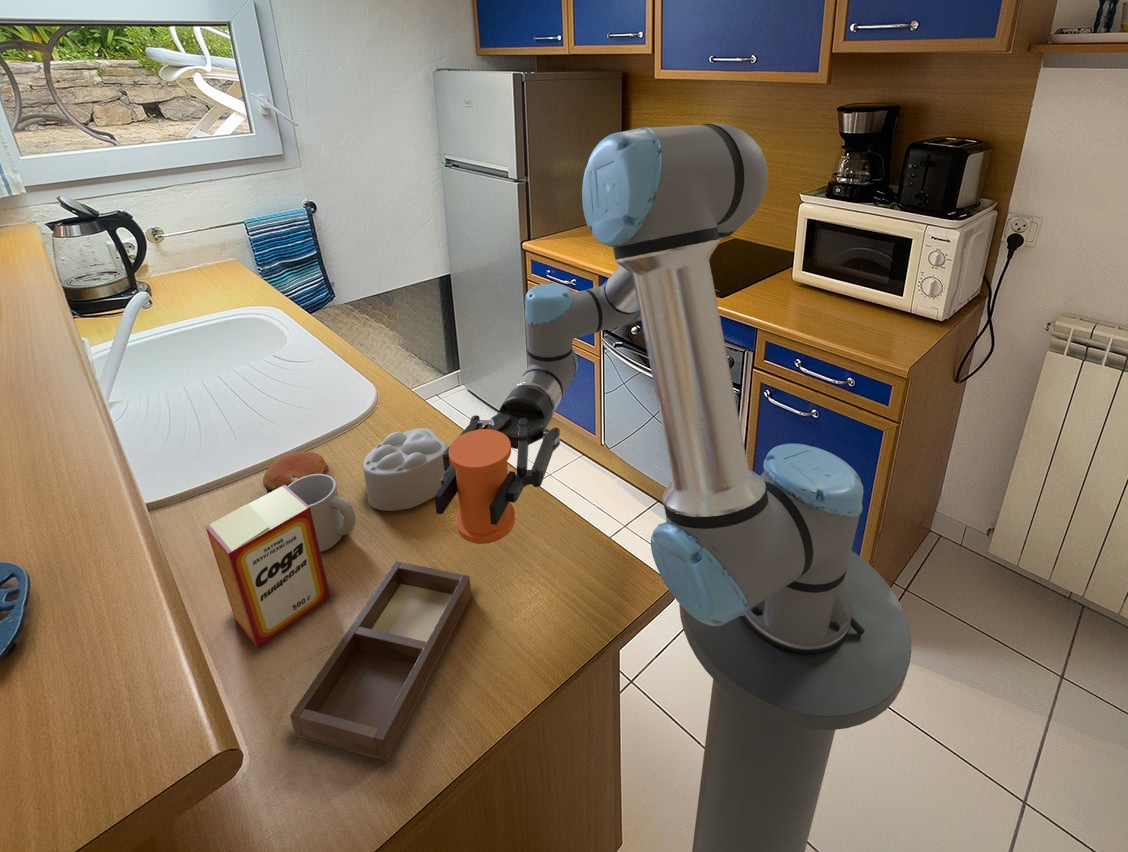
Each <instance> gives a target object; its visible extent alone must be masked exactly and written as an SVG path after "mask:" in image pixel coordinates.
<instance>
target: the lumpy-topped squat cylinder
mask: <svg viewBox="0 0 1128 852" xmlns="http://www.w3.org/2000/svg"><path fill="white" fill-rule="evenodd" d="M447 448H448V445H447V443H446V442H445V441H444V440H442V439H441V438H439V437H437V434H436V433H435V431H433V430H432V429H431V428H427V427H418V428H417V427H416V428H413V429H410V430H406V431H404V432H402V431H395V432H391V433H390V434H388V435H387V436H386V437H385V438H384V440H383V441H382V442H379V443H378V444H377V445H376V446H375V447H374V448H372V450H370V452H369V453H368V454H367V455H366V456H365V458H364V460H363V463H362V470H363V475H364V482H365V488H366V495H367V499H368V504H369V505H370V506H371V507H372V508H373V509H376V510H380V511H384V512H385V511H386V512H392V511H402V510H408V509H411V508H414V507H417V506H419V505H421V504H424V503H425V502H428V501H431V499H434V498H435V497H434V496H435V495H436V493H437V492H438V490H439V489H440V488H441V486H442V485H441V478H442V476H443V475H444V474H445V472H446V471H445V470H444V465H443V456H442V454H443V453H444V451H445V450H446V449H447Z"/></svg>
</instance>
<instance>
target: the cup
mask: <svg viewBox="0 0 1128 852" xmlns="http://www.w3.org/2000/svg"><path fill="white" fill-rule="evenodd" d="M287 487H288V488H289V489H290V490H291V491H293V492H294V493H295V494H296V495H297V496H298V497H299V498H300V499H302V500H303V501H304V502H305V503H306V504H307V505H308V506H309V507H310V510H311V514H312V518H313V523H314V527H315V532H316V536H317V540H318V545H319V549H320V553H322V552H325V551H327V550H329V549H331V548H333V546H335V545H336V544H337V543H338V542H339V541H340V540H341V538H342V536H345V535H348V534H350V532H352V531H353V530H354V528H355V526H356V521H357V520H356V519H357V516H356V512H355V511H356V510H355V509H354V507H353V505H352V504H351V502H349V501H348V500H347V499H346V498H344V497H342V496H339V494H338V488H337V484H336V479H334V477H332V476H330V475H329V474H328V475H325V474H313V475H308V476H305V477H302V478H300V479H298V480H296V481H294V482H292V483H291V484H290V485H289V486H287Z"/></svg>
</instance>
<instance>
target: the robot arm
mask: <svg viewBox="0 0 1128 852" xmlns="http://www.w3.org/2000/svg"><path fill="white" fill-rule="evenodd" d="M768 170H769V169H768V164H767V160H766V157H765V155H764V152H763V151H762V149H761V147H760V145H759V144H758V143H757V142H756V141H755V139H754V138H753V137H751V136H750V135H749V134H748V133H747V132H745V131H744V130H742V129H740V128H738V127H735V126H733V125H729V124H726V123H719V122H718V123H717V122H715V123H714V122H712V123H703V124H695V125H694V124H693V125H675V126H674V125H672V126H654V127H653V126H652V127H647V126H640V127H638V128H635V129H629V130H624V131H619V132H618V131H617V132H614V133H610V134H608V135H607V136H606V137H604V138H603V139H601V140H600V141H599V142H598V143H597V145H596V146H595V147H594V148H593V150H592V152H591V154H590V155H589V158H588V161H587V165H586V167H585V169H584V174H583V179H582V188H581V189H582V190H581V194H582V195H581V197H582V198H581V200H582V210H583V215H584V219H585V224H586V225H587V227H588V229H589V230H591V234H592V237H593V238H594V239H595V240H596V241H597V242H598V243H600V244H601V245H604V246H608V247H611V248H612V250H613V254H614V260H615V263H616V264H617V265H618V267H617V268H616V269H615V270H614V272H613V273H612V274H611V275H610V276H609V278H608V279H607V280H606V281H605V282H604V283H602V285H600V286H596V287H592V288H587V289H583V290H580V291H574V292H572V291H571V289H570V287H568V286H566V285H565V284H562V283H555V282H552V283H539V284H537V285H534V286H532V287H531V288H530V289H529V290H528V291H527V292H526V295H525V300H524V301H525V302H524V323H525V333H526V334H525V335H526V361H527V362H526V363H527V367H526V369H525V371H524V373H523V374H522V376H521V377H520V378H519V380H518V381H517V383H516V384H515V385H514V387H513V388H512V389H511V391H510V392H509V394H508V395H507V397H506V398H505V400H504V401H503V403H502V404H501V405H500V408H499V411H498V412H497V413H496V414H495V415H493V416H492V417H490V419H481V417H480V415H477V414H476V415H472V416H471V417H470V420H469V424H468V425H467V426H466V427H465V429H463V431H462V432H460V434H459V435H457V437H456V438H458V437H459V436H461V435H463V434H465V433H467V432H470V431H474V430H480V429H490V430H496V431H499V432H501V433H503V434H505V435H506V436H507V437H508V438H509V440H510V442H511V449H515V450H517V457H516V458H517V459H516V471H514V470H513V471H512V470H509V471H508V475H507V477H506V479H505V480H504V482H503V484H502V485H501V487H500V489H499V491H498V492H497V494H496V496H495V498H494V499H493V501H492V503H491V504H490V506H489V507H490V520H491V524H494V525H497V524H498V522H499V520H500V518H501V516H502V514H503V512H504V511H505V509H506V507H507V505H508V503H509V502H510V503H512V504H513V503H514V504H515V503H516V502H517V501H518V500H519V497H520V496H521V494H522V492H523V491H524V488H526V487H527V486H530V485H531V486H532V487H534V488H539V487H541V486H542V485H543V481H544V478H545V476H546V473H547V469H548V467H549V465H550V461H551V459H552V456H553V453H554V452H555V450H556V449H557V448H559V446H560V445H561V431H560V428H559V427H552V428H551V429H548V425H549V423H550V422H551V420H552V417H553V416H554V414H555V413H556V410H557V409H558V407H559V405H560V404H561V401H562V400H563V397H564V396H565V394H566V392H567V390H568V389H569V387H570V386H571V385H572V383H573V382H574V379H575V378H576V375H577V371H578V368H579V359H578V358H579V357H578V355H577V354H576V352H575V349H573V340H574V339H578V338H582V337H585V336H588V335H591V334H597V333H600V332H603V331H607V330H611V329H615V328H619V327H623V326H629V325H632V324H635V323H636V322H638V321H641V326H642V332H643V336H644V341H645V346H646V353H647V358H648V361H649V366H650V373H651V377H652V382H653V388H654V394H655V397H656V402H657V403H656V404H657V408H658V413H659V419H660V421H661V422H660V424H661V429H662V433H663V438H664V444H665V448H666V454H667V459H668V464H669V469H670V474H671V479H672V480H671V482H670V483H669V484H668V485H667V487H666V489H665V490H664V491H663V494H662V502H663V503H662V504H663V508H664V513H665V519H666V521H665V522H662V523H658V525H657V527H655V528H654V529H653V531H652V534H651V536H650V550H651V555H652V557H653V561H654V564H655V567H656V568H657V569H656V570H657V571H658V573H659V575H660V577H661V580H662V581H663V583H664V585H665V586H666V587H667V589H668V591H669V592H670V593H671V595H672V596H673V598H674V599H675V600H676V602H677V603H678V605H679V604H680V605H681V606H682V607H683V608H684V609H685V610H686V611H687V612H688V613H689V614H690V615H691V616H693V617H694V618H695V619H697V620H698V621H700V622H702V623H704V624H707V625H710V626H720V625H724V624H726V623H728V622H729V621H731V620H733V619H735V618H737V617H739V616H741V618H742V619H743V621H744V622H745V624H746V625H747V626H748V627H749V628H750V629H751V630H752V631H753V632H754V633H755V634H756V635H757V636H758V637H760V638H761V639H762V640H764V641H765V642H767V643H768V644H770V645H772V646H774V647H776V648H778V649H781V650H783V651H786V652H790V653H794V654H799V655H818V654H823V653H826V652H829V651H831V650H833V649H835V648H836V647H838V646H839V645H840V644H841V643H842V642H843V641H844V640H845V638H846V637H847V635H848V632H849V629H850V626H851V627H852V628H853V629H854V630H855V631H856V632H857V633H858V634H859V635H862V634H863V633H864V629H863V628H862V627H861V626H860V625H859V624H858V623H857V622H856V621H855V619H854V618H853V617H852V616H853V608H852V600H851V595H850V590H849V585H848V580H847V576H846V571H847V567H848V563H849V559H850V555H851V550H852V551H853V546H854V541H855V538H856V533H857V530H858V529H857V528H858V524H859V521H860V516H861V514H862V512H863V509H864V508H863V497H864V486H863V483H862V480H861V478H860V476H859V474H858V473H857V471H855V469H854V468H853V467H852V466H851V465H849V464H848V462H846V461H845V460H843V459H842V458H841V457H839V456H837V455H835V454H833V453H832V452H830V451H827V450H825V449H822V448H819V447H816V446H811V445H807V444H803V443H784V444H780V445H776V446H775V447H773V448H771V449H770V450H769V451H768V452H767V455H766V457H765V459H764V460H763V464H762V466H763V472H762V473H761V474H760V475H759V474H757V473H756V472H755V471H753V470H752V469H750V467H749V464H748V458H747V453H746V449H745V448H746V447H745V443H744V438H743V432H742V426H741V422H740V417H739V411H738V406H737V400H736V396H735V390H734V385H733V379H732V374H731V369H730V363H729V358H728V352H727V347H726V342H725V338H724V332H723V326H722V321H721V316H720V311H719V306H718V300H717V295H716V289H715V283H714V279H713V274H712V268H711V263H710V259H711V257H712V255H713V254H714V252H715V250H716V249H717V247H718V246H719V244H721V243H720V242H721V240H723V239H726V238H729V237H730V236H732V235H734V234H735V232H737V230H738V229H740V228H741V227H742V226H743V225H744V224H745V223H746V222H747V221H748V220H749V219H750V218H751V217H752V216H753V215H754V214H755V212H756V211H757V210H758V208H759V207H760V205H761V204H762V203H763V200H764V197H765V195H766V192H767V191H768V190H767V188H768V182H769V171H768ZM540 440H542V441H541V444H540V447H539V449H538V451H537V453H536V456H535V459H534V463H533V465H532V467H531V469H528V462H529V461H528V459H529V446H530V445H532V444H534V443H537V442H538V441H540ZM449 448H450V445H449V446H447V449H446V450H445V451H444V453H443V454H442V456H443V465H444V470H445V471H446V472H445V474H444V475H443V476H442V478H441V485H442V486H441V488H440V489H439V490H438V492H437V493H436V495H435V496H434V497H433V498H434V504H435V514H437V515H440V516H441V515H443V514H444V513H445V511H446V510H447V508H448V507H449V505H450V504H451V502H452V501H453V500H454V498H455V496H456V495H457V494H458V489H457V479H456V470H455V468H454V467H453V466H452V464H451V463H450V460H449Z"/></svg>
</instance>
